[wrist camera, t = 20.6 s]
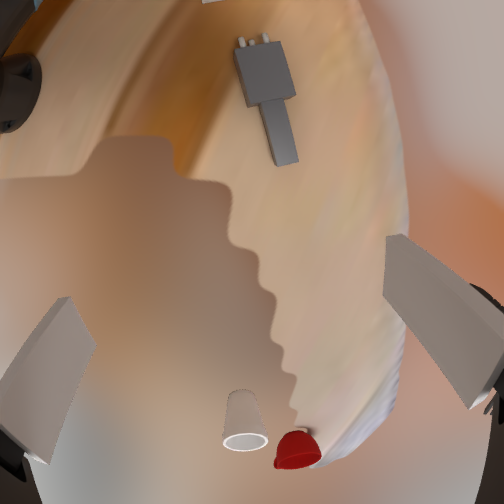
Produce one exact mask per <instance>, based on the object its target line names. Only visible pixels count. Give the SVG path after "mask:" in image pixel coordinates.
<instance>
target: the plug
mask: <svg viewBox="0 0 504 504" xmlns="http://www.w3.org/2000/svg"><path fill="white" fill-rule="evenodd" d="M261 35H262V38H263V41H264V44H258V45H255V42H254V40H249V41H248V42H249V45H250V46H246V43H245V40H244V37H239V38H238V41H239V44H240V47H241V48H238V49H234V58H233V59H234V63H235V66H236V69H237V73H238V76H239V79H240V83H241V86H242V90H243V93H244V97H245V100H246V104H247V107H248V108H250V107H254V106H258V105H259V107H260V111H261V114H262V118H263V122H264V126H265V129H266V133H267V137H268V141H269V145H270V148H271V152H272V156H273V160H274V164H275V165H276V166H277V167H279V166H283V165H288V164H292V163H296V162H299V159H298V155H297V151H296V146H295V142H294V138H293V134H292V130H291V126H290V122H289V118H288V114H287V111H286V107H285V103H284V100H288V99H290V98H292V97H293V96H295V95H296V92H295V89H294V85H293V81H292V78H291V75H290V71H289V68H288V64H287V61H286V58H285V55H284V52H283V48H282V45H281V42H280V41H277V42H270V40H269V37H268V34H267V33H262V34H261Z"/></svg>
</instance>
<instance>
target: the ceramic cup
mask: <svg viewBox="0 0 504 504" xmlns="http://www.w3.org/2000/svg"><path fill="white" fill-rule="evenodd" d="M321 457H322V455H321V451H320V449H319V446H318V444H317V443H316V441H315V440H314V438H313V437H312V436H310V435H309V434H307V433H305V432H303V431H299V430H298V431H292V432H289V433H287V434H285V435H284V436H283V438H282V439H281V441H280V442H279V444H278V447H277V457H276V458H275V460H274V467H275V468H276V469H298V468H303V467H307V466H309V465H312V464H314V463H316V462H318V461H319V460H320V459H321Z"/></svg>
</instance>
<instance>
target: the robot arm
mask: <svg viewBox="0 0 504 504" xmlns="http://www.w3.org/2000/svg"><path fill="white" fill-rule="evenodd" d="M42 2H43V0H0V134H3V133H10V132H13V131H15V130H16V129H18V128H19V127H20V126H21V125H22V124H23V123H24V122H25V121H26V120H27V118H28V117H29V115H30V114H31V112H32V110H33V108H34V106H35V104H36V101H37V99H38V95H39V92H40V87H41V78H42V77H41V67H40V64H39V62H38V61H37V59H36V58H35V57H33V56H31V55H28V54H24V53H18V54H13V55H9V56H6V57H3V55H4V53H5V52H6V50H7V49H8V47H9V46H10V44H11V43H12V41H13V40H14V38H15V37H16V35H17V34H18V32H19V31H20V30H21V28H22V27H23V26H24V24H25V23H26V22H27V20H28V19H29V18H30V17H31V15H32V14H33V13H34V12H36V11H37V9H38V6H39V5H40V4H41V3H42ZM383 296H384V298H385V299H386V300H387V301H388V302H389V304H390V305H391V306H392V307H393V308H394V310H395V311H396V312H397V313H398V315H399V316H400V317H401V318H402V320H403V321H404V322H405V323H406V325H407V326H408V327H409V328H410V330H411V331H412V332H413V333H414V335H415V336H416V337H417V339H418V340H419V341H420V342H421V344H422V345H423V346H424V347H425V349H426V350H427V352H428V353H429V354H430V356H431V357H432V358H433V360H434V361H435V363H436V364H437V365H438V367H439V368H440V369H441V371H442V372H443V374H444V375H445V376H446V378H447V379H448V381H449V382H450V383H451V385H452V386H453V388H454V389H455V391H456V392H457V394H458V395H459V397H460V398H461V400H462V401H463V403H464V404H465V406H466V407H467V409H468V410H470V409H471V408H473V407H474V406H476V405H477V404H478V403H480V402H482V401H483V400H484V399H485V398H486V397H487V395H488V394H489V392H490V391H491V389H492V388H493V387H494V388H495V390H496V391H497V392H496V394H495V395H494V397H493V399H492V400H491V401H490V403H489V404H488V405H487V407H486V408H485V411H484V414H487V413H488V411H489V410H490V409H491V407H492V406H493V410H492V412H491V413H490V415H492V423H491V432H490V439H489V446H488V452H487V458H486V462H485V467H484V471H483V476H482V480H481V484H480V487H479V491H478V494H477V498H476V501H475V504H504V307H503V306H501V304H500V303H499V302H498V301H497V300H495V299H493V297H492V296H491V295H490V294H488V293H487V292H486V291H485V290H483V289H482V288H480V287H478V286H476V285H473V284H471V283H470V284H468V283H467V282H466V281H465V280H464V279H462V278H461V277H460V276H459V275H457V274H456V273H455V272H454V271H452V270H451V269H449V268H448V267H447V266H446V265H444V264H443V263H442V262H441V261H439V260H438V259H437V258H435V257H434V256H433V255H431V254H430V253H428V252H427V251H426V250H424V249H423V248H422V247H420V246H419V245H417V244H416V243H414V242H413V241H412V240H410V239H409V238H407V237H406V236H405V235H403V234H397V235H392V236H387V237H386V255H385V272H384V286H383ZM96 346H97V345H96V343H95V341H94V340H93V338H92V336H91V334H90V333H89V331H88V329H87V327H86V326H85V324H84V322H83V321H82V318H81V316H80V315H79V313H78V311H77V309H76V307H75V305H74V303H73V301H72V299H71V297H63V298H58V299H57V301H56V302H55V303H54V304H53V306H52V307H51V308H50V309H49V311H48V312H47V313H46V315H45V316H44V317H43V319H42V320H41V321H40V323H39V324H38V325H37V327H36V328H35V329H34V331H33V332H32V333H31V335H30V336H29V338H28V339H27V340H26V342H25V343H24V345H23V346H22V348H21V349H20V351H19V352H18V353H17V355H16V357H15V358H14V360H13V361H12V363H11V364H10V366H9V367H8V369H7V371H6V372H5V374H4V375H3V377H2V379H1V380H0V504H42V501H41V498H40V495H39V493H38V490H37V487H36V484H35V481H34V477H33V474H32V471H31V467H30V464H29V461H28V459H27V458H25V457H24V456H23V455H24V452H26V453H27V454H28V455H30V456H31V457H32V458H33V459H35V460H36V461H39V462H42V463H45V464H48V465H49V464H50V461H51V458H52V455H53V452H54V449H55V446H56V443H57V440H58V437H59V434H60V431H61V428H62V426H63V423H64V420H65V417H66V415H67V412H68V410H69V407H70V405H71V402H72V400H73V397H74V395H75V392H76V390H77V388H78V385H79V383H80V381H81V378H82V376H83V374H84V372H85V369H86V367H87V365H88V363H89V361H90V359H91V356H92V354H93V352H94V350H95V348H96Z"/></svg>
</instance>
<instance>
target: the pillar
mask: <svg viewBox="0 0 504 504" xmlns="http://www.w3.org/2000/svg"><path fill="white" fill-rule="evenodd" d="M216 1H223V0H202V4H204V3H210V2H216Z"/></svg>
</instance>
